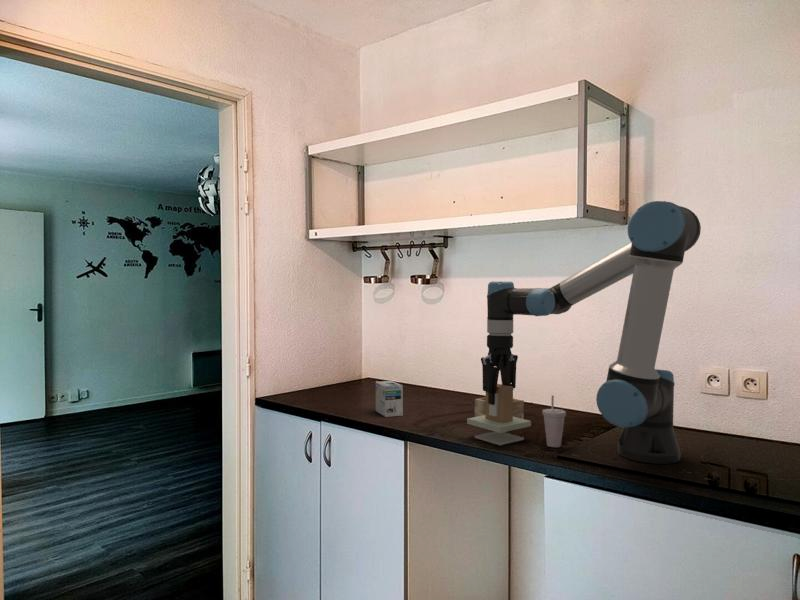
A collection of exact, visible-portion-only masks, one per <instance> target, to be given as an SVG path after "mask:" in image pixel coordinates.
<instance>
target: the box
mask: <svg viewBox="0 0 800 600" xmlns="http://www.w3.org/2000/svg"><path fill="white" fill-rule="evenodd" d="M485 401H486V396H483V397H479V398H474V417H478V416H483V415H485ZM524 402H525V401H524V399H520V398H519V399H518V398H515V397H513V417H517V418H521V419H524V417H525V416H524V414H525V413H524V410H525V409H524V407H525V406H524Z"/></svg>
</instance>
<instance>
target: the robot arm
mask: <svg viewBox="0 0 800 600" xmlns="http://www.w3.org/2000/svg"><path fill="white" fill-rule="evenodd" d="M626 232H627V236H628V239H629V243H627V244H625V245H624V246H622V247H619V248H618V249H616V250H615V251H613V252H611V253H610V254H609V253H608V254H607V255H606V256H604V257H602V258H600V259H599V260H597V261H595V262H593V263H592V264H591V265H588V266H586V267H585V268H583V269H582V270H579V271H578V272H576V273H574V274H572V275H571V276H569V277H567V278H565V279H564V280H561V281H560V282H559V283H557V284H555V285H552V287H550V288H549V287H548V288H546V287H545V288H544V287H543V288H541V287H535V288H531V287H530V288H529V287H527V288H517V287H515V285H514V284H515V283H514V282H513V281H500V280H499V281H495V280H494V281H490V282H488V284H487V293H486V294H487V295H486V298H487V299H486V302H487V307H486V309H487V317H486V319H487V320H486V325H487V326H486V333H488V334H487V335H486V347H487V348H488V353H487V355H486V356H485V357H480V362H481V365H482V367H481V368H482V391H483V392H485V393H486V392H488V403H489V415H492V416H498V394H497V393H496V389H497V384H499V383H498V382H499V374H500V379H501V380H500V381H501V384H502V385H507V386H512V387H513V389H515V388H516V383H517V382H516V380H517V362H518V358H519V356H518V355H517V354H513V353H512V350H511V349H512V348H513V347H514V336H513V335H512V334H513V333H514V315H520V316H534V317H546V316H550V315H560V314H564V313H567V312H569V310H570V309H571V307H572V306H574V305H576V304H578V303H580V302H581V301H583V300H586V299H587V298H589V297H591V296H592V295H595V294H597V293H598V292H600V291H603V290H604V289H606V288H608V287H610V286H611V285H614V284H616V283H618V282H619V281H621V280H623V279H625V278H627V277H629V276H630V275H632V278H631V283H630V288H629V293H628V295H629V296H628V298H627V299H628V300H627V306H626V310H625V316H624V320H623V321H624V322H623V326H622V331H621V332H622V333H621V336H620V342H619V347H618V353H617V358H616V360H615V361H614V362H612V363H611V364H609V365H608V371H607V375H606V381H605V382H604V383H602V384H601V386H600V387H599V388H598V390H597V393H596V397H595V398H596V407H597V409H598V411H599V413H600V414H601V416H602V417H603V418H604V420H606V421H607V422H608V423H609V424H611V425H614V426H615V427H619V428H622V431H621V434H620V437H619V439H618V442H617V454H618V455H619V456H621V457H623V458H625V459H627V460H631V461H636V462H638V463H639V462H640V463H645V464H646V463H647V464H658V465H659V464H660V465H665V464H673V463H678V462H680V461H681V449H680V445H679V443H678V439H677V436H676V434H675V430H674V403H675V402H674V397H675V396H674V395H675V393H674V392H675V391H674V390H675V381H674V379H675V378H674V373H673V372H672V371H670V370H667V369H666V370H665V369H656V368H655V366H656V363H657V358H658V351H659V347H660V343H661V336H662V331H663V327H664V322H665V317H666V311H667V308H668V307H667V306H668V302H669V301H668V300H669V297H670V291H671V285H672V281H673V275H674V270H676V268H678V267H679V266H681V265H682V264H683V262H684V257H685V253H686V252H687V251H689V250H690V249H691V248H693V247H694V246H695V245H696V244H697V242H698V240H699V238H700V235H701V232H702V231H701V222H700V220H699V218H698V215H696V214H695V212H693V210H691V209H689V208H687V207H684V206H681V205H678V204H675V203H674V202H670V201H665V200H662V201H661V200H656V201H655V200H654V201H653V200H652V201H650V202H647V203H645V204H643V205H641V206H640V207H639V208H637V209H636V210H635V211H634V212H633V213H632V215H631V217H630V218H629V220H628V223H627V231H626Z"/></svg>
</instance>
